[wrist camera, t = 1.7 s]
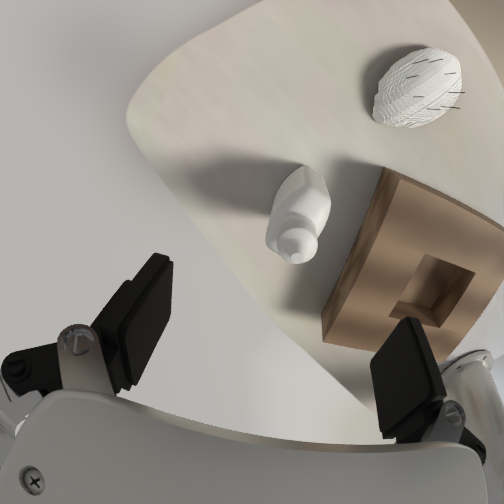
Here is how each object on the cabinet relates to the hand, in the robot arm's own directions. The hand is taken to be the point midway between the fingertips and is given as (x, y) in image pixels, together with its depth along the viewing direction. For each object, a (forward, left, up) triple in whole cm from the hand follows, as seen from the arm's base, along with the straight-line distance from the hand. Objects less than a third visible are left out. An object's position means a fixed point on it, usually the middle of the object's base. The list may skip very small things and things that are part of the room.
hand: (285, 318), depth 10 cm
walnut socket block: (-4, -16, -17) cm, 24 cm away
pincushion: (+14, -9, -18) cm, 24 cm away
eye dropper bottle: (0, 0, -17) cm, 17 cm away
